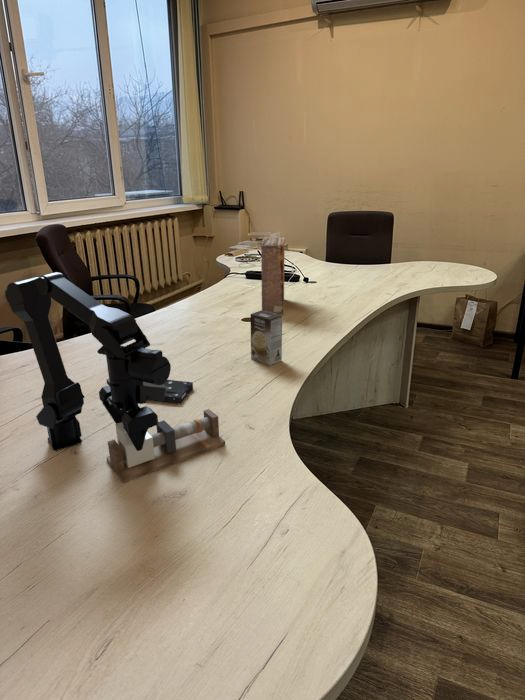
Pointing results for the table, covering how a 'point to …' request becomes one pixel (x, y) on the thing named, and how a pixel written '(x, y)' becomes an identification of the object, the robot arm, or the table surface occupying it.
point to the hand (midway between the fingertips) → (131, 440)
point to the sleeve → (132, 454)
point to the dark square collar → (167, 436)
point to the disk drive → (176, 391)
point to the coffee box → (266, 337)
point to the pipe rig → (188, 444)
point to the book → (273, 274)
